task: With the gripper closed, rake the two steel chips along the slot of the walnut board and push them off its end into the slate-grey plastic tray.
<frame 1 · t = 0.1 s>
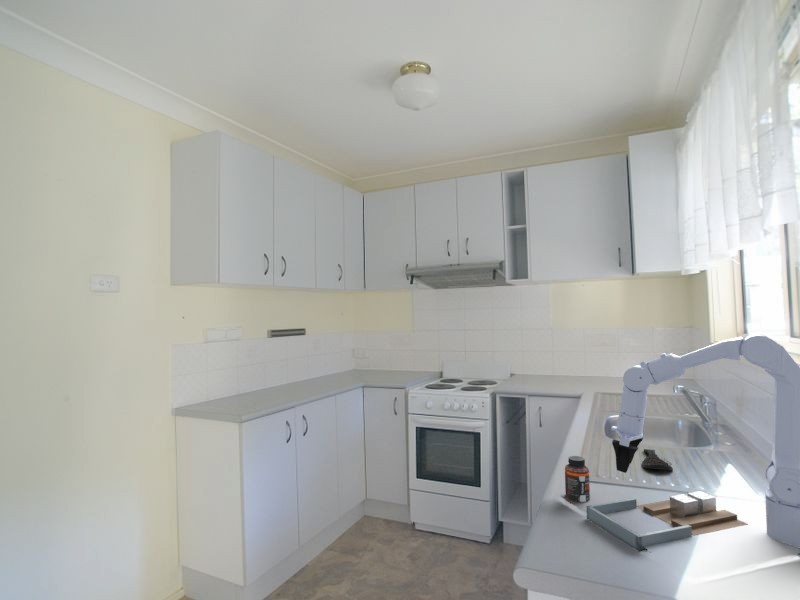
hand: (624, 466, 115), 11 cm above the worktop, tool pointing down, fingers open, 7 cm apart
rear chip: (702, 512, 110), point 1 cm above the worktop, touching slot board
front chip: (684, 515, 109), point 1 cm above the worktop, touching slot board
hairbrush: (653, 463, 150), on the worktop
slot board: (689, 518, 109), on the worktop
supplement bottle: (577, 502, 120), on the worktop
chip tray: (636, 529, 105), on the worktop
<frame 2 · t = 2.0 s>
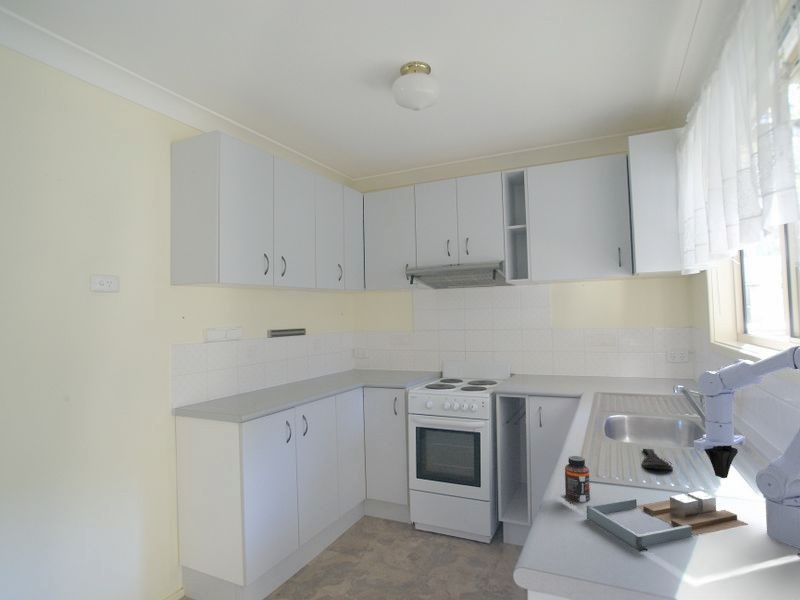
hand: (721, 476, 112), 9 cm above the worktop, tool pointing down, fingers closed
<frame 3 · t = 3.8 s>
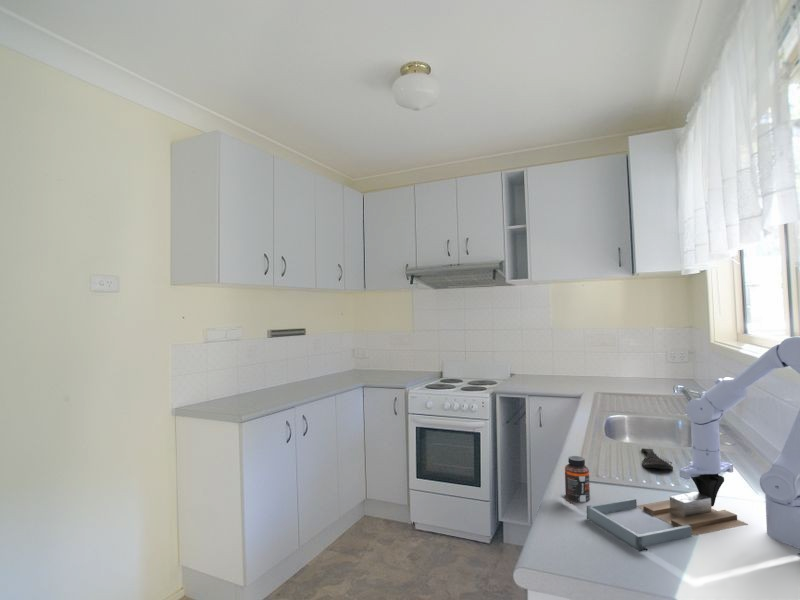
hand: (707, 504, 111), 2 cm above the worktop, tool pointing down, fingers closed
rear chip: (697, 512, 110), point 1 cm above the worktop, touching gripper
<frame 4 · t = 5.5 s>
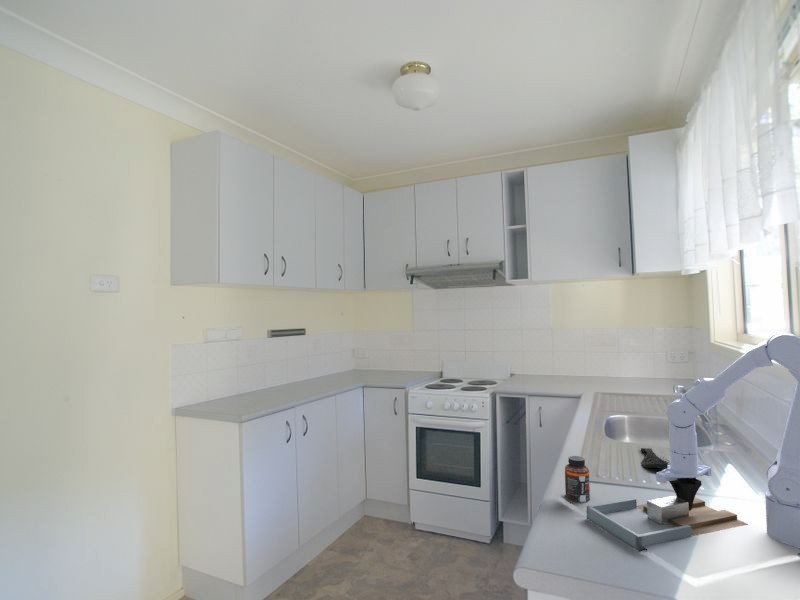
hand: (685, 509, 109), 2 cm above the worktop, tool pointing down, fingers closed
rear chip: (674, 517, 108), point 1 cm above the worktop, touching front chip, gripper, slot board
front chip: (661, 519, 107), point 1 cm above the worktop, touching rear chip, slot board
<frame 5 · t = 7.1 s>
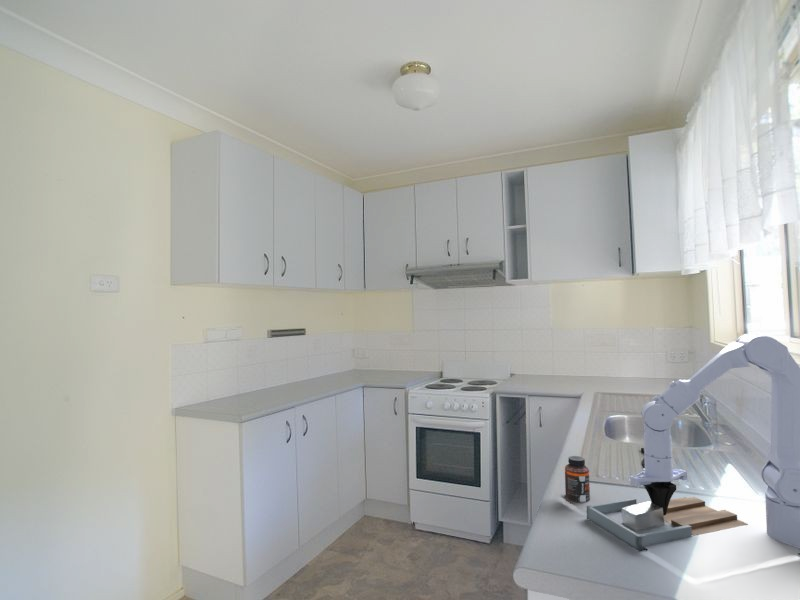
hand: (660, 513, 107), 2 cm above the worktop, tool pointing down, fingers closed
rear chip: (650, 523, 106), point 1 cm above the worktop, touching front chip, gripper
front chip: (636, 527, 104), point 1 cm above the worktop, touching rear chip
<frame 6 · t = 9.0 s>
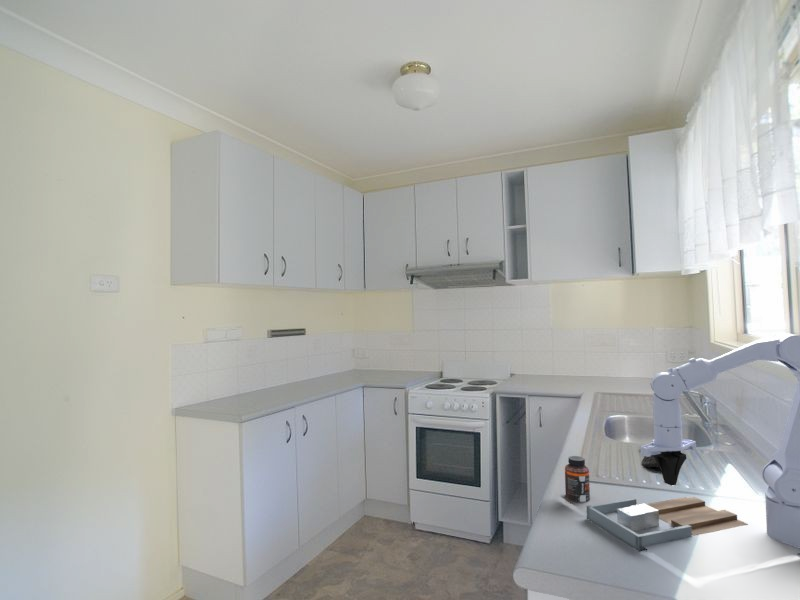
hand: (670, 483, 107), 9 cm above the worktop, tool pointing down, fingers closed
rear chip: (644, 525, 105), resting on chip tray
front chip: (631, 529, 104), resting on chip tray
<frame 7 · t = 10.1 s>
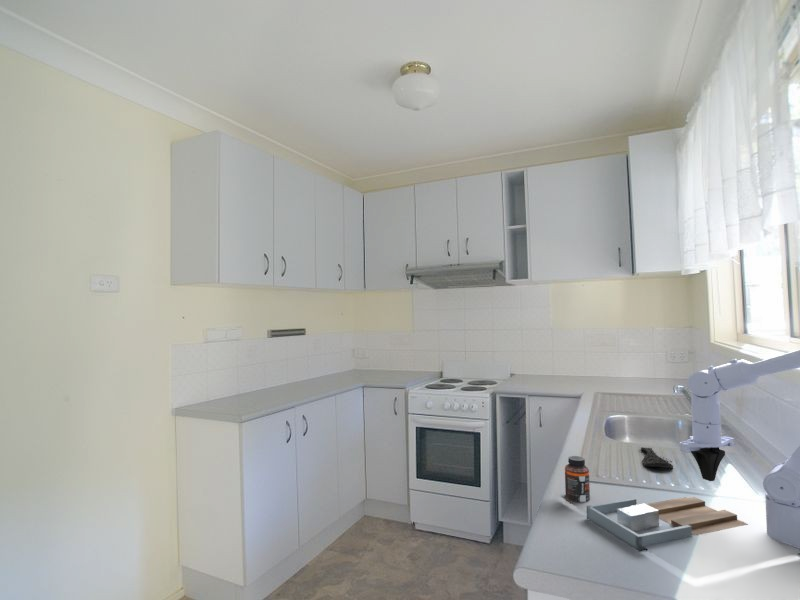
hand: (708, 479, 108), 9 cm above the worktop, tool pointing down, fingers closed
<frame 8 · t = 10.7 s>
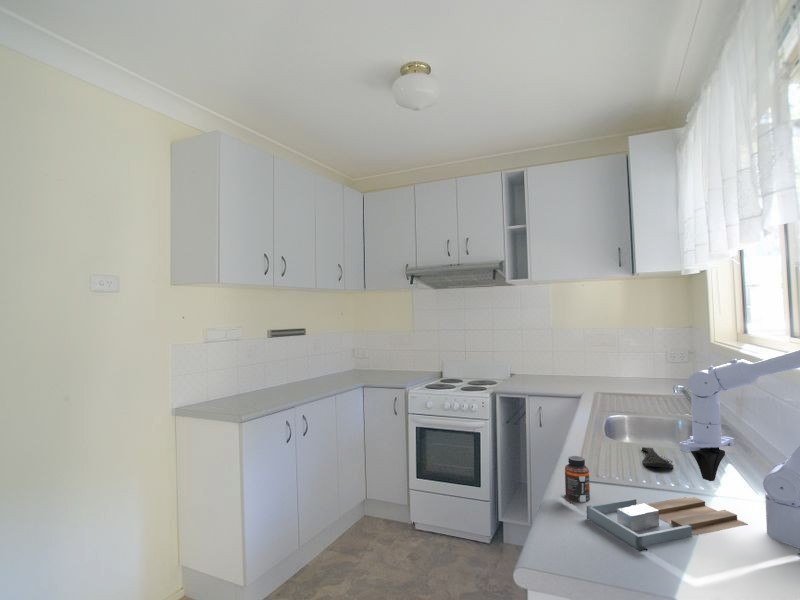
hand: (708, 479, 108), 9 cm above the worktop, tool pointing down, fingers closed
at the end: rear chip inside the target area (2.4 cm from its centre), resting on chip tray; front chip inside the target area (1.6 cm from its centre), resting on chip tray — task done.
